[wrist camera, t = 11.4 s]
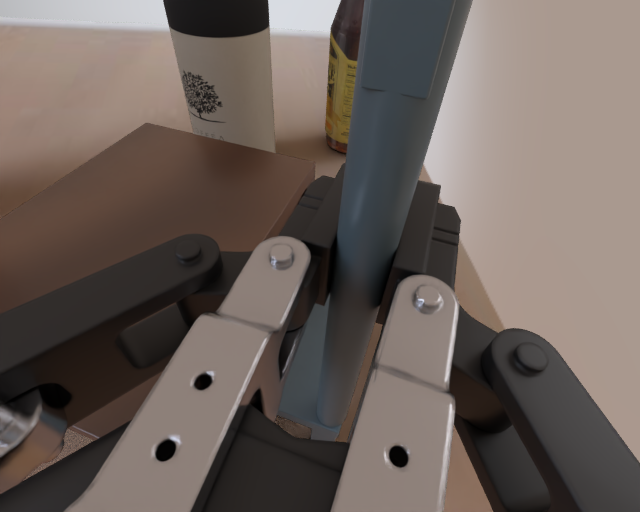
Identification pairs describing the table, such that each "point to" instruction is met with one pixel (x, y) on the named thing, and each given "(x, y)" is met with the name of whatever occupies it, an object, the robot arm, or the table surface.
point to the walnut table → (144, 219)
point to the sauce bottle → (342, 72)
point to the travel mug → (225, 68)
